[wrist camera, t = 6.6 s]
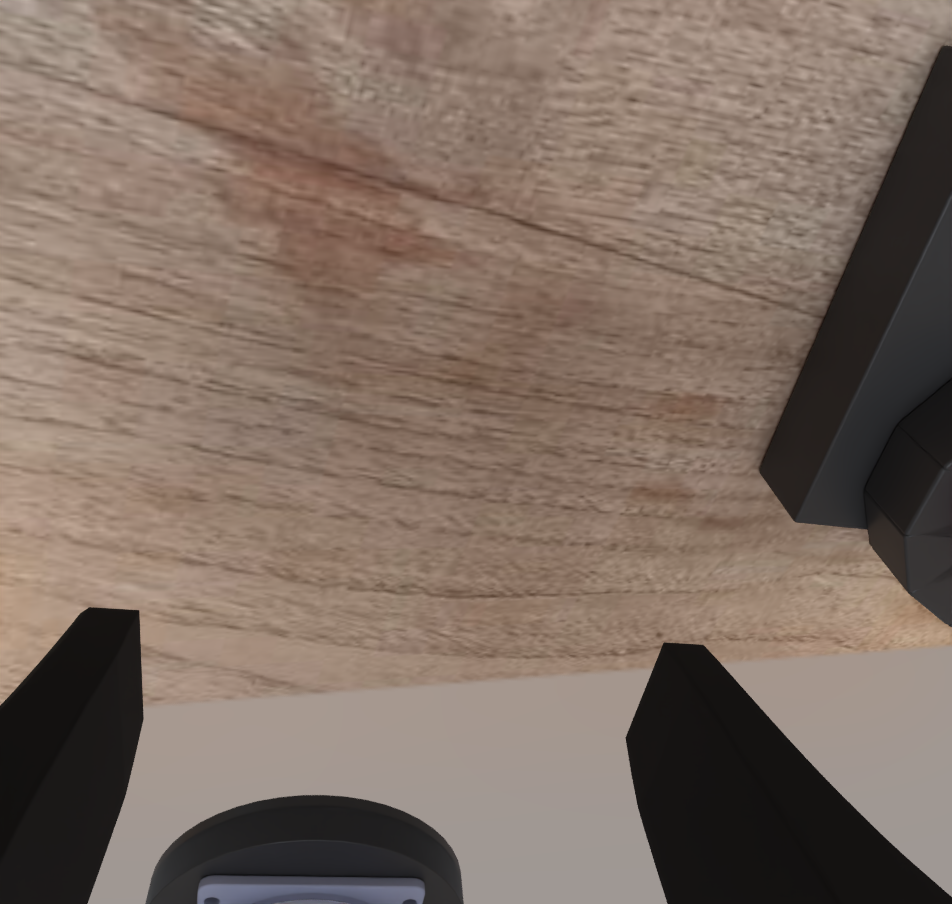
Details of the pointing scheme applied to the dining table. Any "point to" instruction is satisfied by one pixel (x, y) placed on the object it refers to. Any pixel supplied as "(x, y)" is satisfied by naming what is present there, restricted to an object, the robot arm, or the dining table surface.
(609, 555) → the dining table surface
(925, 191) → the button box
